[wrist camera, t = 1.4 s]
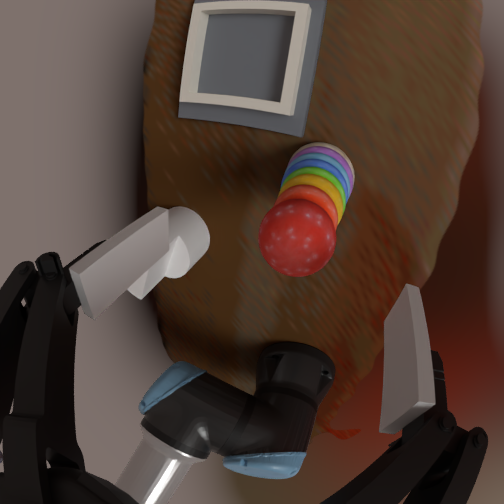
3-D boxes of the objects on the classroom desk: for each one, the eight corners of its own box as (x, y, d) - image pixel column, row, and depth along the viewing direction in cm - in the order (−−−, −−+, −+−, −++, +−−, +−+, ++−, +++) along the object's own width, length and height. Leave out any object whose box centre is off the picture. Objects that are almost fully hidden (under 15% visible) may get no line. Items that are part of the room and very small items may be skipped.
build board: (303, 136, 29) (297, 139, 26) (184, 116, 32) (169, 118, 30) (327, 0, 19) (323, -11, 16) (201, -3, 23) (187, -10, 20)
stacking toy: (277, 182, 33) (204, 259, 18) (309, 128, 28) (257, 153, 13) (330, 217, 33) (304, 323, 18) (367, 166, 28) (384, 238, 13)
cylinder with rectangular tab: (199, 267, 45) (158, 313, 35) (156, 238, 45) (109, 276, 35) (218, 226, 39) (172, 271, 30) (170, 195, 40) (115, 229, 30)
